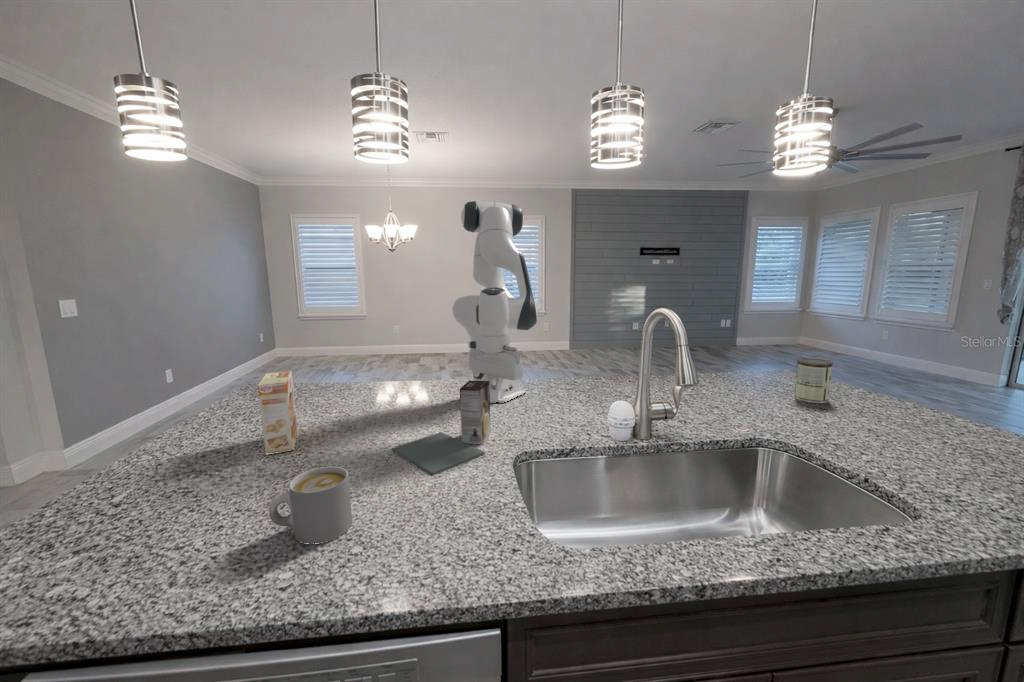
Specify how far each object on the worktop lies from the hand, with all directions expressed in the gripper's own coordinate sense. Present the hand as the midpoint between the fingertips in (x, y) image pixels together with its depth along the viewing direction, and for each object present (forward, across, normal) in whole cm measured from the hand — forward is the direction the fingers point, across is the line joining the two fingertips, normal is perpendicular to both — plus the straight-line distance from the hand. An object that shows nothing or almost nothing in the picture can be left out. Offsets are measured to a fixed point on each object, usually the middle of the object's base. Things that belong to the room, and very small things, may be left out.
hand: (495, 390), depth 123 cm
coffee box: (+13, 0, +8) cm, 15 cm away
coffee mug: (+13, -12, +57) cm, 59 cm away
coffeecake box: (+13, +37, +48) cm, 63 cm away
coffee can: (+13, -60, -99) cm, 117 cm away
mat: (+13, 0, +21) cm, 25 cm away
